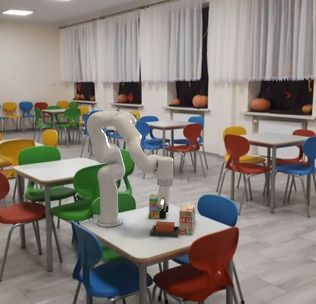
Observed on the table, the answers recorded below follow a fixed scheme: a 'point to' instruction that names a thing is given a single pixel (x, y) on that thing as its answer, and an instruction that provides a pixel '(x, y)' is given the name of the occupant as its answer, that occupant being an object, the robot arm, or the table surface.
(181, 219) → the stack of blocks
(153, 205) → the chalk box
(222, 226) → the table surface
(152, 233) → the frame
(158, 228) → the orange rectangular block
